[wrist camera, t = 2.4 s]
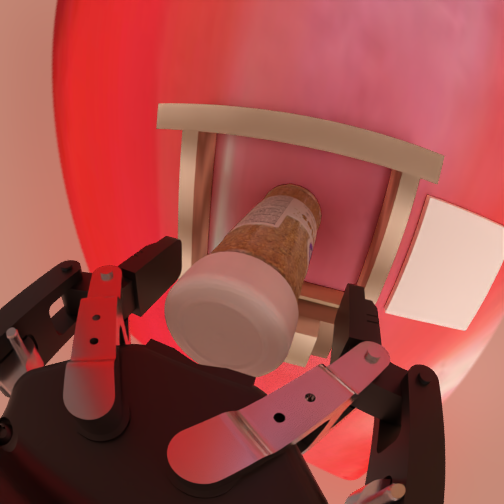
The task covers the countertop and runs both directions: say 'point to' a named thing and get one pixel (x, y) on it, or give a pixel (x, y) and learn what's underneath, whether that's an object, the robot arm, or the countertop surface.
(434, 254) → the cream mat
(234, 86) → the countertop surface
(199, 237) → the frame
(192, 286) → the sprinkles bottle
